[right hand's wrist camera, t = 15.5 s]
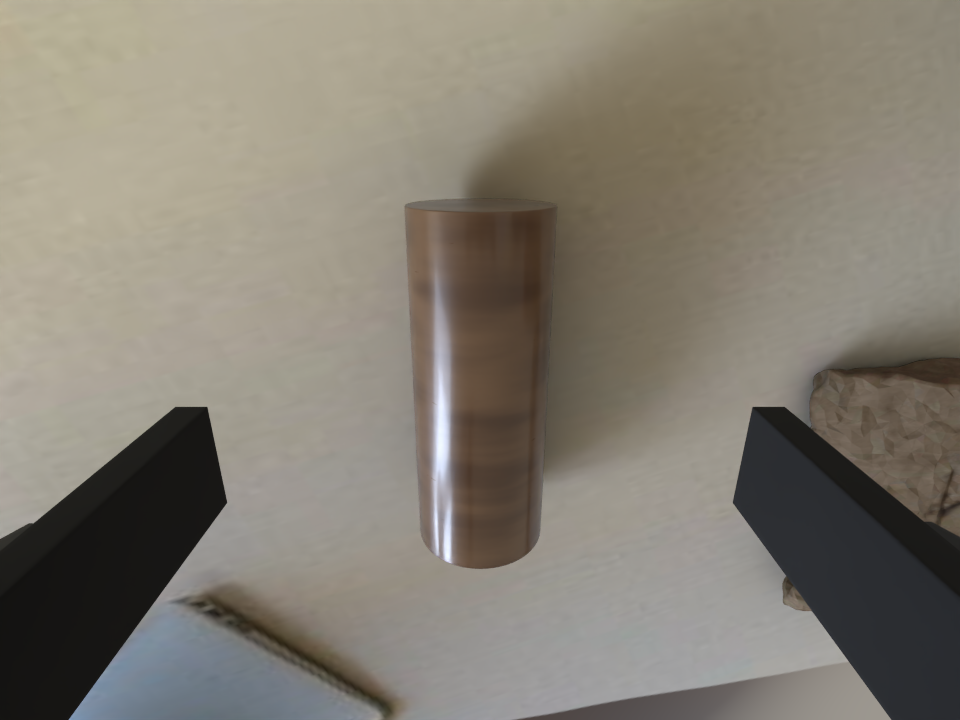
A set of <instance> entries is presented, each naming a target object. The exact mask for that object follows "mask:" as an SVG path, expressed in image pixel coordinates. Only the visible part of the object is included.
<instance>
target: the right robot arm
mask: <svg viewBox="0 0 960 720" xmlns="http://www.w3.org/2000/svg"><path fill="white" fill-rule="evenodd" d="M226 504H227V500H226V495H225V490H224V485H223V480H222V476H221V471H220V466H219V461H218V456H217V451H216V447H215V442H214V437H213V432H212V427H211V423H210V418H209V413H208V408H207V407H175V408H174V409H172V410H171V411H170V412H169V413H168V414H166V415H165V416H164V417H163V418H161V419H160V420H159V421H158V422H157V423H155V424H154V425H153V426H152V427H150V428H149V429H148V430H147V431H146V432H144V433H143V434H142V435H141V436H140V437H138V438H137V439H136V440H135V441H133V442H132V443H131V444H130V445H129V446H127V447H126V448H125V449H124V450H122V451H121V452H120V453H119V454H118V455H116V456H115V457H114V458H113V459H112V460H110V461H109V462H108V463H107V464H105V465H104V466H103V467H102V468H101V469H99V470H98V471H97V472H96V473H94V474H93V475H92V476H91V477H90V478H88V479H87V480H86V481H85V482H84V483H82V484H81V485H80V486H79V487H77V488H76V489H75V490H74V491H73V492H71V493H70V494H69V495H68V496H67V497H65V498H64V499H63V500H62V501H60V502H59V503H58V504H57V505H56V506H54V507H53V508H52V509H51V510H49V511H48V512H47V513H46V514H45V515H43V516H42V517H41V518H40V519H39V520H37V521H36V522H35V523H29V524H27V525H25V526H24V527H22V528H20V529H18V530H16V531H14V532H12V533H11V534H9V535H7V536H5V537H3V538H1V539H0V720H69V718H70V717H71V716H72V714H73V713H74V711H75V710H76V709H77V707H78V706H79V705H80V703H81V702H82V701H83V699H84V698H85V696H86V695H87V694H88V692H89V691H90V690H91V688H92V687H93V685H94V684H95V683H96V681H97V680H98V679H99V677H100V676H101V675H102V673H103V672H104V670H105V669H106V668H107V666H108V665H109V664H110V662H111V661H112V659H113V658H114V657H115V655H116V654H117V653H118V651H119V650H120V649H121V647H122V646H123V644H124V643H125V642H126V640H127V639H128V638H129V636H130V635H131V633H132V632H133V631H134V629H135V628H136V627H137V625H138V624H139V623H140V621H141V620H142V618H143V617H144V616H145V614H146V613H147V612H148V610H149V609H150V607H151V606H152V605H153V603H154V602H155V601H156V599H157V598H158V597H159V595H160V594H161V592H162V591H163V590H164V588H165V587H166V586H167V584H168V583H169V582H170V580H171V579H172V577H173V576H174V575H175V573H176V572H177V571H178V569H179V568H180V566H181V565H182V564H183V562H184V561H185V560H186V558H187V557H188V556H189V554H190V553H191V551H192V550H193V549H194V547H195V546H196V545H197V543H198V542H199V540H200V539H201V538H202V536H203V535H204V534H205V532H206V531H207V530H208V528H209V527H210V525H211V524H212V523H213V521H214V520H215V519H216V517H217V516H218V514H219V513H220V512H221V510H222V509H223V508H224V506H225V505H226ZM733 504H734V505H735V506H736V508H737V509H738V510H739V512H740V513H741V514H742V516H743V517H744V519H745V520H746V521H747V523H748V524H749V525H750V527H751V528H752V530H753V531H754V532H755V534H756V535H757V536H758V538H759V539H760V540H761V542H762V543H763V545H764V546H765V547H766V549H767V550H768V551H769V553H770V554H771V556H772V557H773V558H774V560H775V561H776V562H777V564H778V565H779V566H780V568H781V569H782V571H783V572H784V573H785V575H786V576H787V577H788V579H789V580H790V582H791V583H792V584H793V586H794V587H795V588H796V590H797V591H798V592H799V594H800V595H801V597H802V598H803V599H804V601H805V602H806V603H807V605H808V606H809V607H810V609H811V610H812V612H813V613H814V614H815V616H816V617H817V618H818V620H819V621H820V623H821V624H822V625H823V627H824V628H825V629H826V631H827V632H828V633H829V635H830V636H831V638H832V639H833V640H834V642H835V643H836V644H837V646H838V647H839V649H840V650H841V651H842V653H843V654H844V655H845V657H846V658H847V659H848V661H849V662H850V664H851V665H852V666H853V668H854V669H855V670H856V672H857V673H858V674H859V676H860V677H861V679H862V680H863V681H864V683H865V684H866V685H867V687H868V688H869V690H870V691H871V692H872V694H873V695H874V696H875V698H876V699H877V701H878V702H879V703H880V705H881V706H882V707H883V709H884V710H885V711H886V713H887V714H888V716H889V717H890V718H891V720H960V537H959V536H957V535H955V534H954V533H952V532H950V531H948V530H946V529H944V528H942V527H941V526H939V525H937V524H935V523H933V522H924V521H923V520H921V519H920V518H919V517H918V516H917V515H915V514H914V513H913V512H912V511H911V510H909V509H908V508H907V507H906V506H904V505H903V504H902V503H901V502H900V501H898V500H897V499H896V498H895V497H893V496H892V495H891V494H890V493H889V492H887V491H886V490H885V489H884V488H883V487H881V486H880V485H879V484H878V483H876V482H875V481H874V480H873V479H872V478H870V477H869V476H868V475H867V474H866V473H864V472H863V471H862V470H861V469H859V468H858V467H857V466H856V465H855V464H853V463H852V462H851V461H850V460H848V459H847V458H846V457H845V456H844V455H842V454H841V453H840V452H839V451H838V450H836V449H835V448H834V447H833V446H831V445H830V444H829V443H828V442H827V441H825V440H824V439H823V438H822V437H820V436H819V435H818V434H817V433H816V432H814V431H813V430H812V429H811V428H810V427H808V426H807V425H806V424H805V423H803V422H802V421H801V420H800V419H799V418H797V417H796V416H795V415H794V414H792V413H791V412H790V411H789V410H788V409H786V408H785V407H753V408H752V413H751V418H750V423H749V427H748V432H747V437H746V442H745V447H744V451H743V456H742V461H741V466H740V471H739V476H738V480H737V485H736V490H735V495H734V500H733Z"/></svg>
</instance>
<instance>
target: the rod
mask: <svg viewBox="0 0 960 720" xmlns="http://www.w3.org/2000/svg"><path fill="white" fill-rule="evenodd" d="M556 217H557V205H555V204H553V203H549V202H542V201H532V200H516V199H445V200H429V201H419V202H412V203H408V204H406V205H405V225H406V246H407V266H408V286H409V306H410V326H411V347H412V367H413V387H414V407H415V428H416V448H417V468H418V488H419V509H420V529H421V536H422V539H423V541H424V543H425V545H426V546H427V547H428V549H429V550H430V551H431V552H432V553H434V554H435V555H436V556H437V557H439V558H440V559H442V560H444V561H446V562H448V563H451V564H454V565H457V566H461V567H466V568H475V569H486V568H495V567H500V566H504V565H507V564H510V563H513V562H515V561H517V560H519V559H521V558H522V557H524V556H525V555H526V554H528V553H529V552H530V551H531V550H532V549H533V547H534V546H535V544H536V543H537V541H538V538H539V536H540V527H541V508H542V488H543V469H544V450H545V430H546V411H547V391H548V372H549V353H550V333H551V314H552V295H553V275H554V256H555V236H556Z"/></svg>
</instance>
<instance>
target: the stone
mask: <svg viewBox="0 0 960 720" xmlns="http://www.w3.org/2000/svg"><path fill="white" fill-rule="evenodd" d="M813 386H814V390H813V392H812V395H811V398H810V421H811V423H812V426H811V429H812V430H813V431H814V432H816V433H817V434H818V435H819V436H820V437H822V438H823V439H824V440H825V441H827V442H828V443H829V444H830V445H831V446H833V447H834V448H835V449H836V450H838V451H839V452H840V453H841V454H842V455H844V456H845V457H846V458H847V459H848V460H850V461H851V462H852V463H853V464H855V465H856V466H857V467H858V468H859V469H861V470H862V471H863V472H864V473H866V474H867V475H868V476H869V477H870V478H872V479H873V480H874V481H875V482H876V483H878V484H879V485H880V486H881V487H883V488H884V489H885V490H886V491H887V492H889V493H890V494H891V495H892V496H893V497H895V498H896V499H897V500H898V501H900V502H901V503H902V504H903V505H904V506H906V507H907V508H908V509H909V510H911V511H912V512H913V513H914V514H915V515H917V516H918V517H919V518H920V519H921V520H923V521H924V522H933V523H935V524H937V525H939V526H941V527H942V528H944V529H946V530H948V531H950V532H952V533H954V534H955V535H957V536H959V537H960V359H959V358H939V359H927V360H924V361H916V362H913V363H910V364H907V365H904V366H900V367H878V368H857V369H852V370H842V369H837V370H834V369H830V370H824V371H822V372H819V373H818V374H817V375H815V376H814V380H813ZM783 603H784V604H785V605H788V606H790V607H792V608H794V609H796V610H802V611H812V610H811V609H810V607H809V606H808V605H807V603H806V602H805V601H804V599H803V598H802V597H801V595H800V594H799V592H798V591H797V590H796V588H795V587H794V586H793V584H792V583H791V582H790V580H789V579H788V577H787V576H786V577H785V579H784V581H783Z"/></svg>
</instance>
